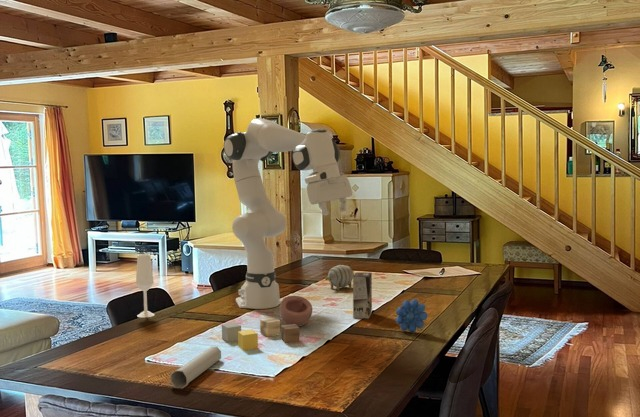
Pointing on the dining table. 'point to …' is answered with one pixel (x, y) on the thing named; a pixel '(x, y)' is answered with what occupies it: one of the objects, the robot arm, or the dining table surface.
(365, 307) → the coffee box
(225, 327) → the grey cube
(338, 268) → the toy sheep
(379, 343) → the dining table surface
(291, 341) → the walnut cube
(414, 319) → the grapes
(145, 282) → the champagne flute
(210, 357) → the tube
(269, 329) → the beech cube
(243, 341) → the mustard cube
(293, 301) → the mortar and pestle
